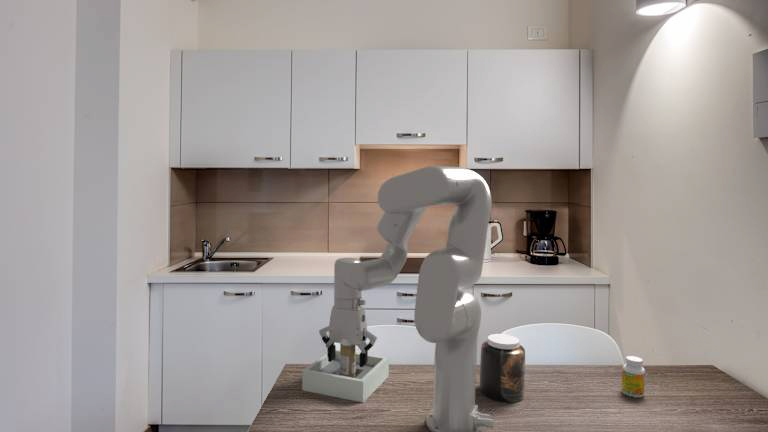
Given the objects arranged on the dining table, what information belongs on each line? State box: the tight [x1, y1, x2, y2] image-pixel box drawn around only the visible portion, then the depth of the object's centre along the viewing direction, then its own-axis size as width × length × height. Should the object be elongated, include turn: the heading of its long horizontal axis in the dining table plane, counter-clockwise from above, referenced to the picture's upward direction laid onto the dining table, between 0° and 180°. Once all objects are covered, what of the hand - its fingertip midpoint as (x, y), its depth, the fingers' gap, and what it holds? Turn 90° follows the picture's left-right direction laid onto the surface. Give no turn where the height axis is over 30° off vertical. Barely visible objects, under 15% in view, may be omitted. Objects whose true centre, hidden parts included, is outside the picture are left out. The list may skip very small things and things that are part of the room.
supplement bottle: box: [621, 355, 646, 398], centre depth 128 cm, size 5×5×10 cm
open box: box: [301, 348, 390, 403], centre depth 132 cm, size 18×18×6 cm
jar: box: [479, 333, 526, 404], centre depth 127 cm, size 12×12×15 cm
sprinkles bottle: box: [339, 339, 356, 378], centre depth 132 cm, size 5×5×14 cm
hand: (347, 362), depth 132 cm, fingers open, 9 cm apart
